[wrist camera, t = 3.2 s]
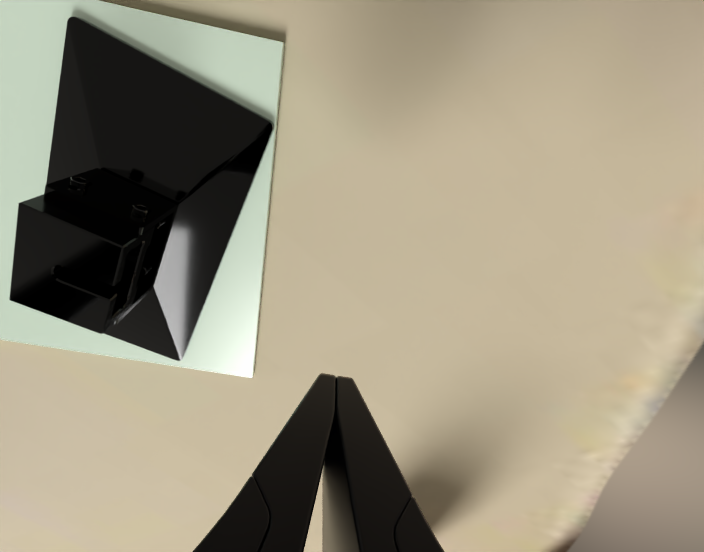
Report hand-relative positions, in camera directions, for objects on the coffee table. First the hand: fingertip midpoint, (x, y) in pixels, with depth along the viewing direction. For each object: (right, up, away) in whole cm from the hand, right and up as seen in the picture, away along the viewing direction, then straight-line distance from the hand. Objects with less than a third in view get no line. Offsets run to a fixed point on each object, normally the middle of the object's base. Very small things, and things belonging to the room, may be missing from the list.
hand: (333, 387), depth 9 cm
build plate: (-8, +5, +6) cm, 11 cm away
